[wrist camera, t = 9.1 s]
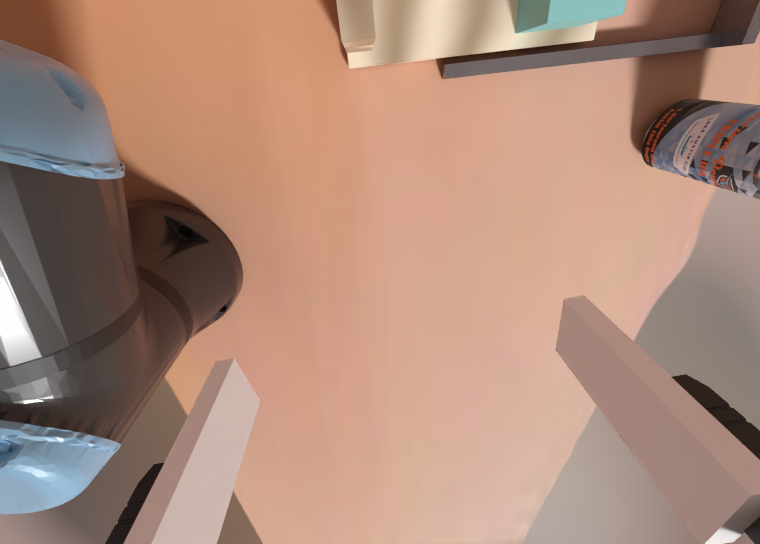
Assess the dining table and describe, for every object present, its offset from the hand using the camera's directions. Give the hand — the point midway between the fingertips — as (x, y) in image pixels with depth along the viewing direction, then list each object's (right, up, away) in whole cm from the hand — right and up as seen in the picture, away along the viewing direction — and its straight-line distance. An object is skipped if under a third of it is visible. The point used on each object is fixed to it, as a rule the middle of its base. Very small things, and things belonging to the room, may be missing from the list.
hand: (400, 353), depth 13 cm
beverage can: (+28, +17, +18) cm, 37 cm away
